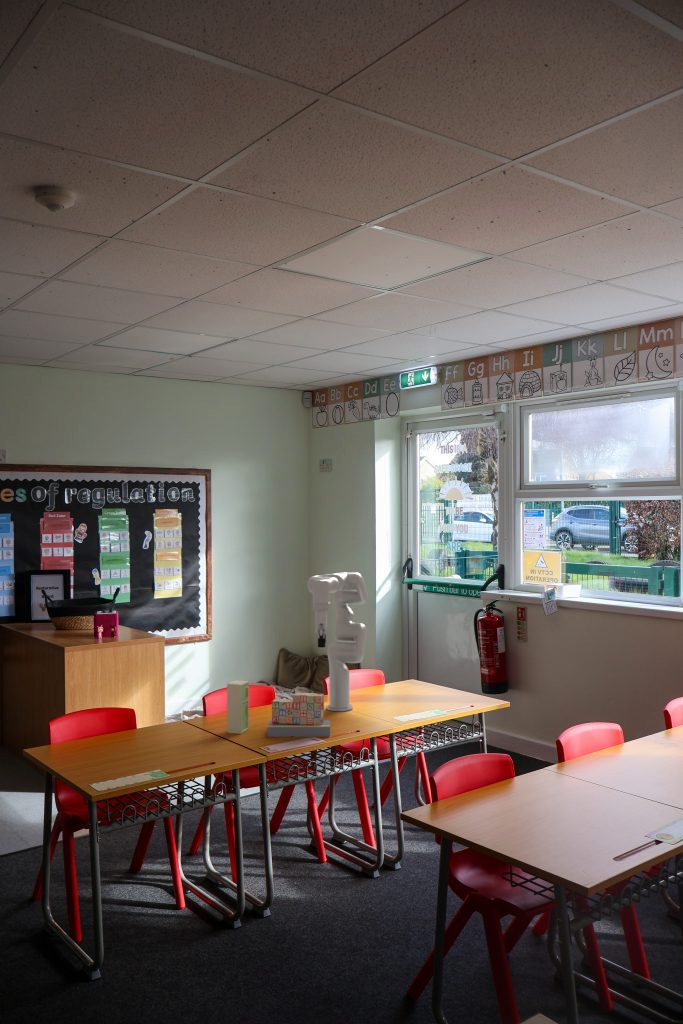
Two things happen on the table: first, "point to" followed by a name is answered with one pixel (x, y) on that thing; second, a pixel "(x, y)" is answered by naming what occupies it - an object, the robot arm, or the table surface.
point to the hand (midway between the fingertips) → (321, 645)
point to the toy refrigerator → (237, 706)
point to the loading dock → (298, 730)
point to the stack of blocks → (299, 709)
